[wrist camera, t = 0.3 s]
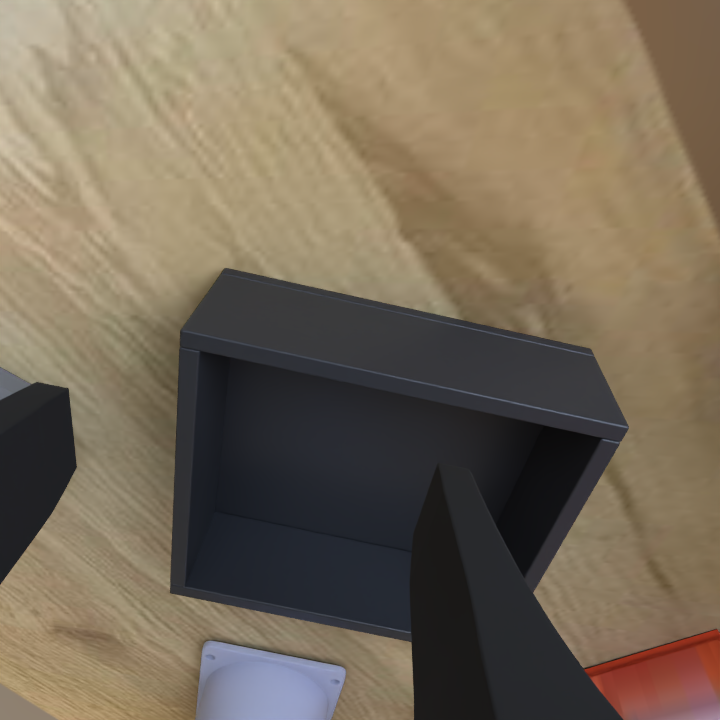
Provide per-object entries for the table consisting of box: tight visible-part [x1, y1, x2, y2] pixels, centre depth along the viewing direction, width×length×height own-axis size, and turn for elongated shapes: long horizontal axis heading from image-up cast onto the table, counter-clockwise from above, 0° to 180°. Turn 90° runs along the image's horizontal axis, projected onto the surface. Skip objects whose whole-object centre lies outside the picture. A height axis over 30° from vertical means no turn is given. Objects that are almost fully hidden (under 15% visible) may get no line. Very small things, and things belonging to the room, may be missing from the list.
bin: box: [170, 268, 629, 642], centre depth 22 cm, size 12×13×4 cm
